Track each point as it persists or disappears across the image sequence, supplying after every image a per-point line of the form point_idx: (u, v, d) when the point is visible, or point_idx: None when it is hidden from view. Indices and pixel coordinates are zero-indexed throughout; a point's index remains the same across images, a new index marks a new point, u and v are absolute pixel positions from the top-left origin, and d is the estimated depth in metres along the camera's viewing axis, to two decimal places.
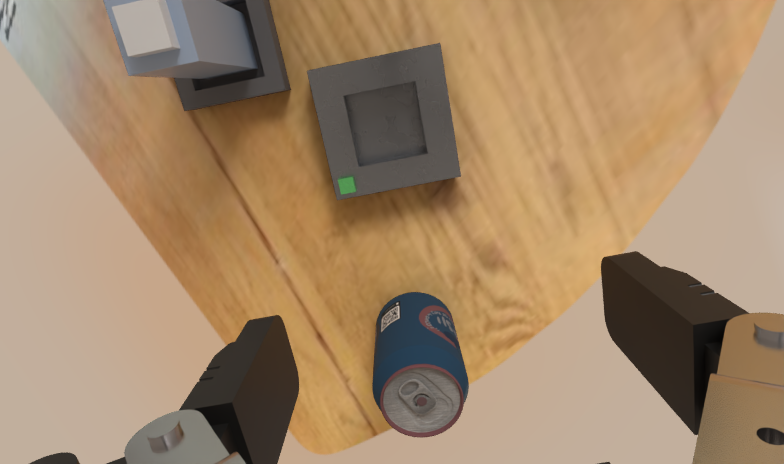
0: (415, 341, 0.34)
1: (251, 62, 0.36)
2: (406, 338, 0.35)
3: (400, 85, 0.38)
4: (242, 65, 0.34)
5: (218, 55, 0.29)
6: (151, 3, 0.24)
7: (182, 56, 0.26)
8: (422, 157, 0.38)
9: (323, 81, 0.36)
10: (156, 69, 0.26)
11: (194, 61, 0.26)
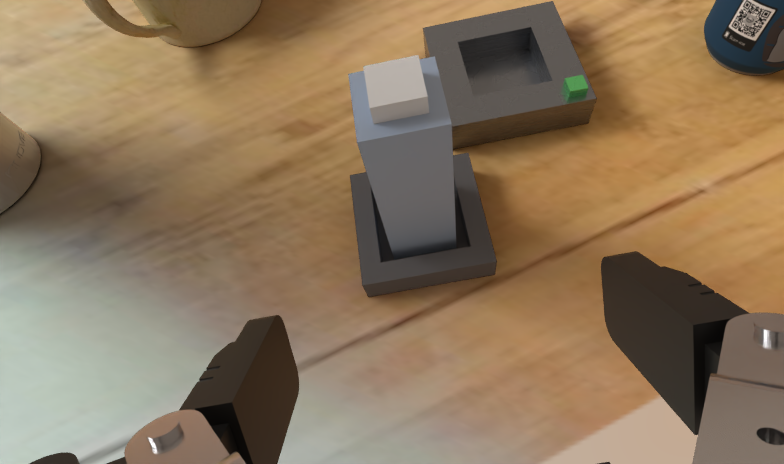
0: None
1: None
2: None
3: None
4: None
5: None
6: (369, 71, 0.21)
7: (429, 70, 0.21)
8: (535, 30, 0.35)
9: (458, 113, 0.33)
10: (444, 98, 0.21)
11: (435, 62, 0.22)
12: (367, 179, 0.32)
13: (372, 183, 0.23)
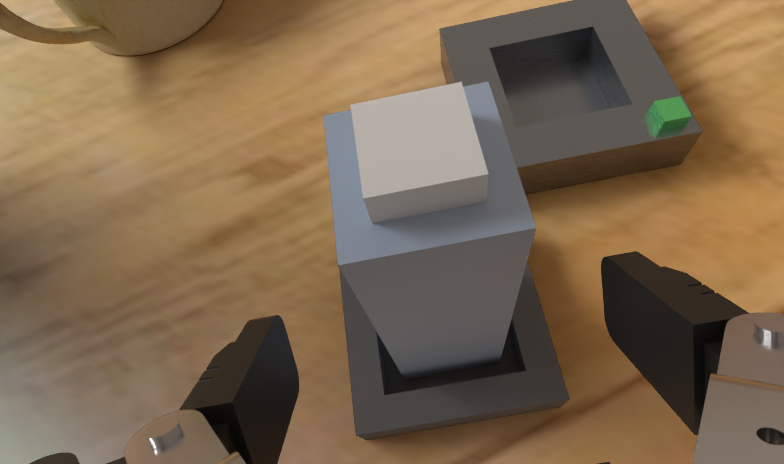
0: None
1: None
2: None
3: None
4: None
5: None
6: (363, 116, 0.10)
7: (480, 110, 0.11)
8: (600, 31, 0.25)
9: None
10: (513, 167, 0.10)
11: (489, 93, 0.11)
12: None
13: (370, 313, 0.12)
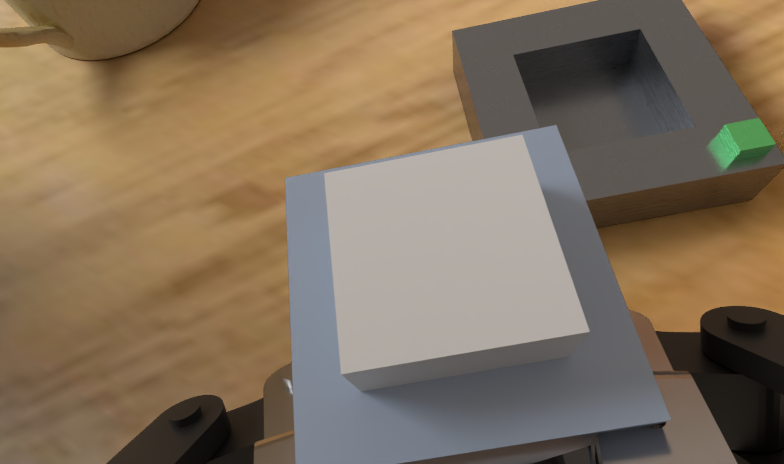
0: None
1: None
2: None
3: None
4: None
5: None
6: (346, 195, 0.06)
7: (545, 176, 0.07)
8: (649, 34, 0.21)
9: None
10: (612, 286, 0.06)
11: (559, 144, 0.07)
12: None
13: None
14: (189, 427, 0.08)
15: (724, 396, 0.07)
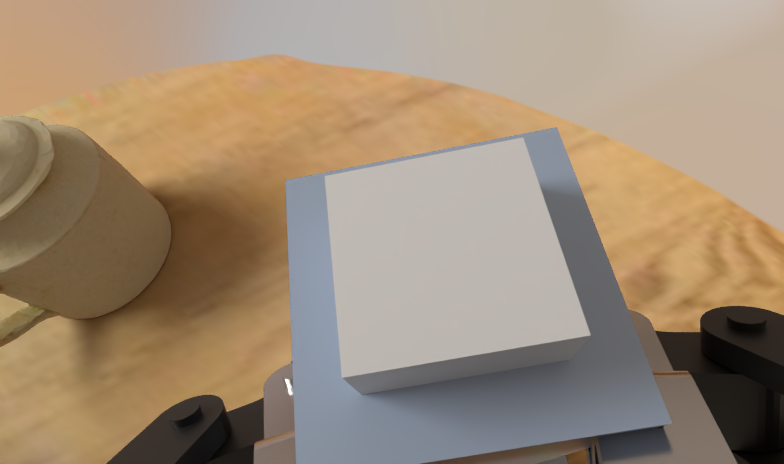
0: None
1: None
2: None
3: None
4: None
5: None
6: (346, 198, 0.06)
7: (546, 178, 0.07)
8: None
9: None
10: (613, 289, 0.06)
11: (559, 147, 0.07)
12: None
13: None
14: (189, 427, 0.08)
15: (724, 396, 0.07)
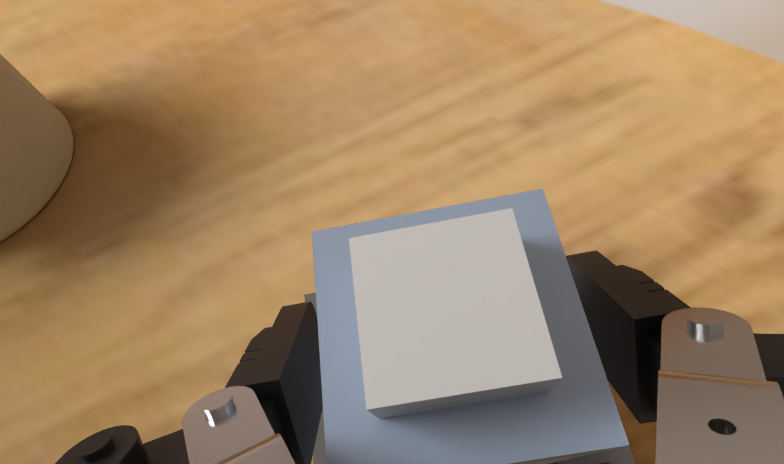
0: None
1: None
2: None
3: None
4: None
5: None
6: (367, 258, 0.07)
7: (533, 234, 0.08)
8: None
9: None
10: (586, 331, 0.07)
11: (545, 206, 0.08)
12: None
13: None
14: (97, 462, 0.07)
15: None
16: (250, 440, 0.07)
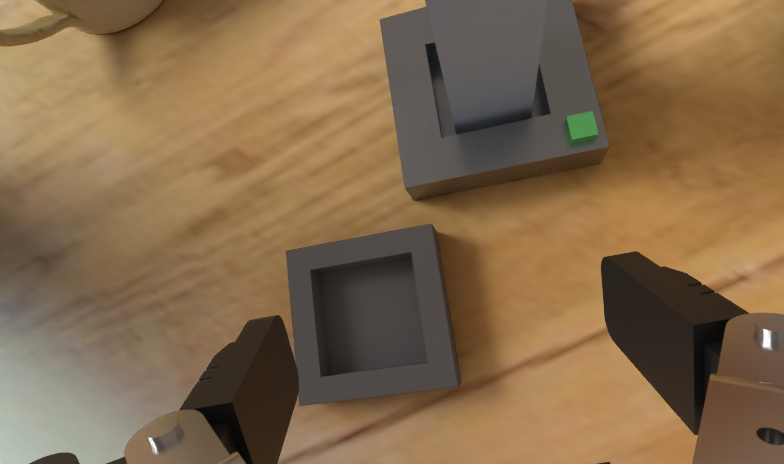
0: None
1: None
2: None
3: (435, 80, 0.28)
4: None
5: None
6: None
7: None
8: None
9: (420, 165, 0.25)
10: None
11: None
12: (306, 258, 0.26)
13: (439, 48, 0.18)
14: None
15: None
16: None
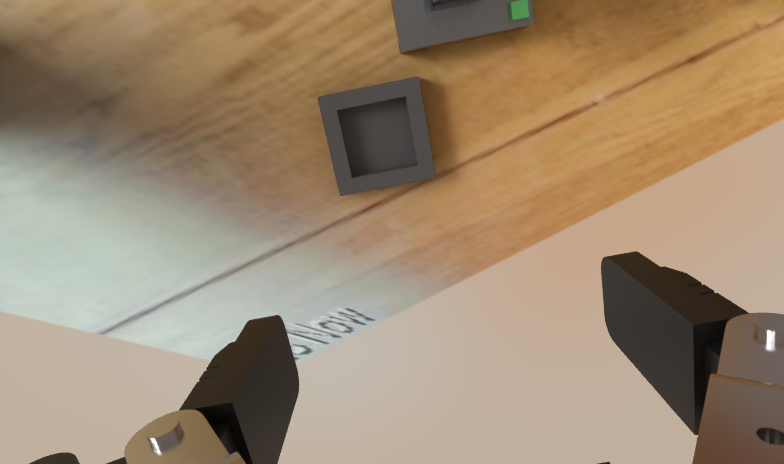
0: None
1: None
2: None
3: None
4: None
5: None
6: None
7: None
8: None
9: (411, 34, 0.36)
10: None
11: None
12: (333, 102, 0.38)
13: None
14: None
15: None
16: None
